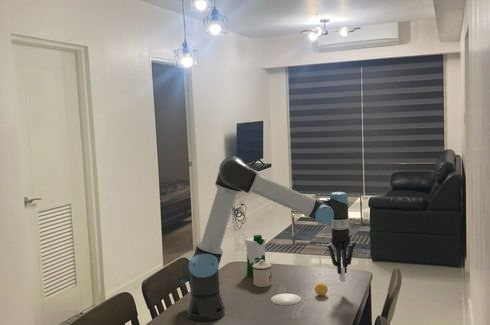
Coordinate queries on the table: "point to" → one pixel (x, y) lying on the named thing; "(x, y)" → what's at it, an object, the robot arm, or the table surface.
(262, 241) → the milk carton
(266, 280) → the teacup with lid
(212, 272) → the robot arm
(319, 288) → the ball
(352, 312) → the table surface
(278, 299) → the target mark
